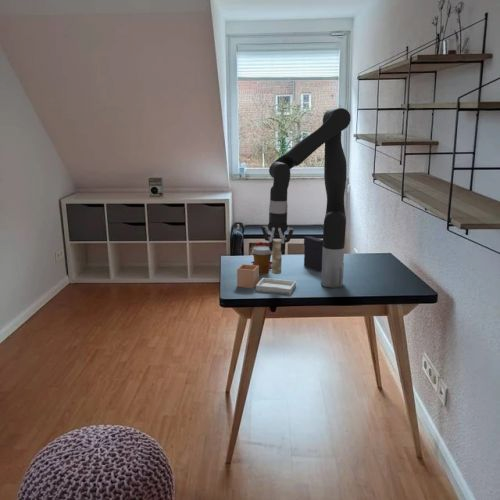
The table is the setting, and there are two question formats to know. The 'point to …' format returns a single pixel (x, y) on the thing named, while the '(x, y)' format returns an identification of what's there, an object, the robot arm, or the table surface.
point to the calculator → (313, 253)
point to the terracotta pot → (247, 276)
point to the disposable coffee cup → (262, 258)
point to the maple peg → (276, 257)
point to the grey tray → (276, 286)
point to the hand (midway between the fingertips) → (277, 250)
